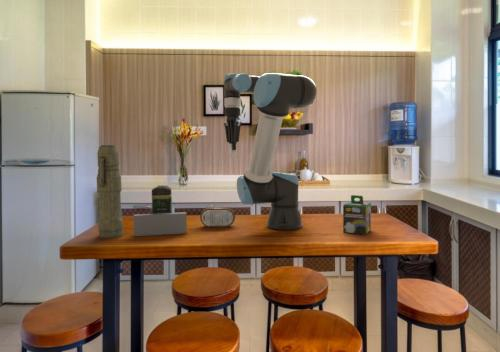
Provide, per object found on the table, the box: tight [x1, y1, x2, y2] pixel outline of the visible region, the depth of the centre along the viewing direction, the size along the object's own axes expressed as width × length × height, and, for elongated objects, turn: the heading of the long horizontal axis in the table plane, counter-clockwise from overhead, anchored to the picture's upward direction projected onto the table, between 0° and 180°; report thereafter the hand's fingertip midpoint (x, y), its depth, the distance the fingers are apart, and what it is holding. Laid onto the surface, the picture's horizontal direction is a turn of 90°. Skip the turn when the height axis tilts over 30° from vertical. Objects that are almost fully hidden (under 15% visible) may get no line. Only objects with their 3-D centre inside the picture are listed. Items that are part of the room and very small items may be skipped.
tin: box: [199, 206, 236, 228], centre depth 154 cm, size 15×3×8 cm, turn 92°
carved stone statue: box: [96, 144, 124, 239], centre depth 138 cm, size 9×12×35 cm
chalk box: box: [342, 194, 372, 236], centre depth 143 cm, size 9×9×15 cm
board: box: [133, 211, 188, 237], centre depth 141 cm, size 3×20×8 cm, turn 103°
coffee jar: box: [151, 185, 173, 214], centre depth 146 cm, size 10×8×19 cm
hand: (232, 157), depth 172 cm, fingers closed
